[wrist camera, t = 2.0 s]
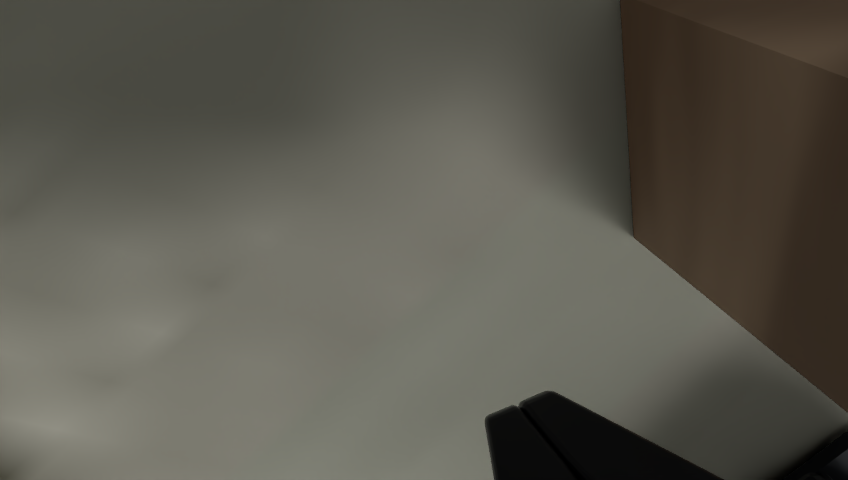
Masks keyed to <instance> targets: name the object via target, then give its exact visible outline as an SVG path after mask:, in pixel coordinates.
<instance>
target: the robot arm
mask: <svg viewBox="0 0 848 480" xmlns="http://www.w3.org/2000/svg"><path fill="white" fill-rule="evenodd" d="M485 427H486V433H487V439H488V446H489V452H490V458H491V464H492V470H493V476H494V480H724V479H722V478H720V477H718V476H716V475H714V474H712V473H710V472H708V471H706V470H704V469H703V468H701V467H699V466H697V465H695V464H693V463H691V462H689V461H687V460H685V459H683V458H681V457H679V456H677V455H676V454H674V453H672V452H670V451H668V450H666V449H664V448H662V447H660V446H658V445H656V444H654V443H652V442H650V441H649V440H647V439H645V438H643V437H641V436H639V435H637V434H635V433H633V432H631V431H629V430H627V429H625V428H623V427H622V426H620V425H618V424H616V423H614V422H612V421H610V420H608V419H606V418H604V417H602V416H600V415H598V414H596V413H595V412H593V411H591V410H589V409H587V408H585V407H583V406H581V405H579V404H577V403H575V402H573V401H571V400H569V399H568V398H566V397H564V396H562V395H560V394H558V393H556V392H553V391H545V392H542V393H540V394H537V395H535V396H533V397H530V398H528V399H525V400H523V401H522V402H520V404H519V406H518V407H517V406H515V405H512V406H509V407H506V408H504V409H502V410H499V411H497V412H495V413H492V414H490V415H488V416H487V417H486V418H485ZM782 480H848V432H846V433H844V434H843V435H842V436H840V437H839V438H838V439H836V440H835V441H834V442H832V443H831V444H829V445H828V446H827V447H825V448H824V449H823V450H821V451H820V452H819V453H817V454H816V455H815V456H813V457H812V458H811V459H809V460H808V461H807V462H805V463H804V464H803V465H801V466H800V467H799V468H797V469H796V470H795V471H793V472H792V473H791V474H789V475H788V476H787V477H785V478H784V479H782Z"/></svg>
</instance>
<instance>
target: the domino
mask: <svg viewBox="0 0 848 480" xmlns="http://www.w3.org/2000/svg"><path fill="white" fill-rule="evenodd" d="M620 8H621V25H622V42H623V60H624V77H625V94H626V111H627V129H628V146H629V163H630V181H631V198H632V215H633V232H634V238H635V239H636V240H637V241H639V242H640V243H641V244H642V245H644V246H645V247H646V248H647V249H648V250H650V251H651V252H652V253H653V254H654V255H656V256H657V257H658V258H659V259H661V260H662V261H663V262H664V263H665V264H667V265H668V266H669V267H670V268H672V269H673V270H674V271H675V272H676V273H678V274H679V275H680V276H681V277H683V278H684V279H685V280H686V281H687V282H689V283H690V284H691V285H692V286H694V287H695V288H696V289H697V290H698V291H700V292H701V293H702V294H703V295H705V296H706V297H707V298H708V299H709V300H711V301H712V302H713V303H714V304H716V305H717V306H718V307H719V308H720V309H722V310H723V311H724V312H725V313H727V314H728V315H729V316H730V317H731V318H733V319H734V320H735V321H736V322H738V323H739V324H740V325H741V326H742V327H744V328H745V329H746V330H747V331H749V332H750V333H751V334H752V335H753V336H755V337H756V338H757V339H758V340H760V341H761V342H762V343H763V344H764V345H766V346H767V347H768V348H769V349H771V350H772V351H773V352H774V353H775V354H777V355H778V356H779V357H780V358H781V359H783V360H784V361H785V362H786V363H788V364H789V365H790V366H791V367H792V368H794V369H795V370H796V371H797V372H799V373H800V374H801V375H802V376H803V377H805V378H806V379H807V380H808V381H810V382H811V383H812V384H813V385H814V386H816V387H817V388H818V389H819V390H821V391H822V392H823V393H824V394H825V395H827V396H828V397H829V398H830V399H832V400H833V401H834V402H835V403H836V404H838V405H839V406H840V407H841V408H843V409H844V410H845V411H846V412H847V413H848V0H620Z"/></svg>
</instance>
